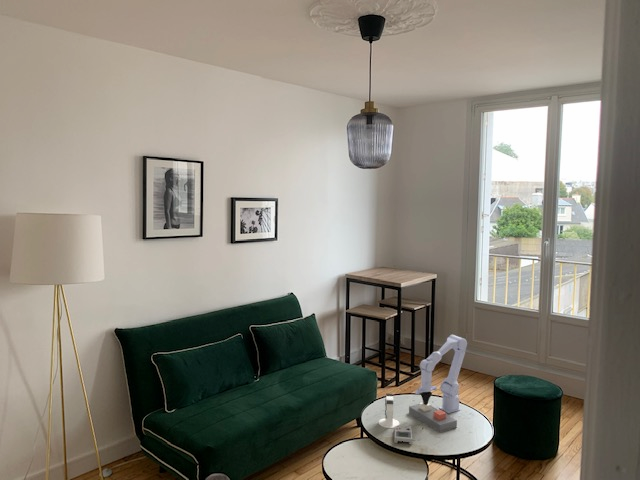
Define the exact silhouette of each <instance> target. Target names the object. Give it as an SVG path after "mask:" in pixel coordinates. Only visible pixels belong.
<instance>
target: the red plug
mask: <svg viewBox="0 0 640 480" xmlns="http://www.w3.org/2000/svg"><path fill="white" fill-rule="evenodd" d="M446 415H447V412H445V411H443V410H442V409H438V410H437V411H434V415H433V417H434V418H436V419H438V420H443V419H446Z"/></svg>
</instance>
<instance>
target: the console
mask: <svg viewBox="0 0 640 480" xmlns="http://www.w3.org/2000/svg"><path fill="white" fill-rule="evenodd" d="M437 410H439V409H437V408H435V407H434V406H432V405H431V410H430V411H426V412H424V411H423V410H421V409H419V403H417V404H414V405H409V407H408V414H410V415H411V416H412V417H414V418H417V419H418V420H419V421H421V422H423V423H425V424H426V425H427V426H429V427H431V428H432V429H434V430H435V431H437V432H438V433H442V432H445V431H449V430H453V429H455V428H457V425H458V424H457V423H458V420H457V419H455V418H453V417H452V416H450V415H448V414H446V419H443V420H438V419H436V418H434V417H433V415H434V411H437Z"/></svg>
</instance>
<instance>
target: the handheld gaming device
mask: <svg viewBox="0 0 640 480" xmlns="http://www.w3.org/2000/svg"><path fill="white" fill-rule="evenodd" d="M412 429H413V428H412V426H411V425H403V424H402V425H401V424H399V425H398V426H395V428H394V443H395V444H398V442H402V441H403V442H404V443H408V445H413V432H412ZM403 442H402V443H403Z"/></svg>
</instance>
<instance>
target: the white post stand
mask: <svg viewBox="0 0 640 480" xmlns="http://www.w3.org/2000/svg"><path fill="white" fill-rule="evenodd" d="M384 401H385V403H384V406H385V410H384V415H385V417H383V418H381V419H379V420H378V424H379V425H380V426H381V427H382V428H386V429H395V426H398V425H400V422H399V420H397V419H395V418H394V396H393V393H386V394H385V399H384Z"/></svg>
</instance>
